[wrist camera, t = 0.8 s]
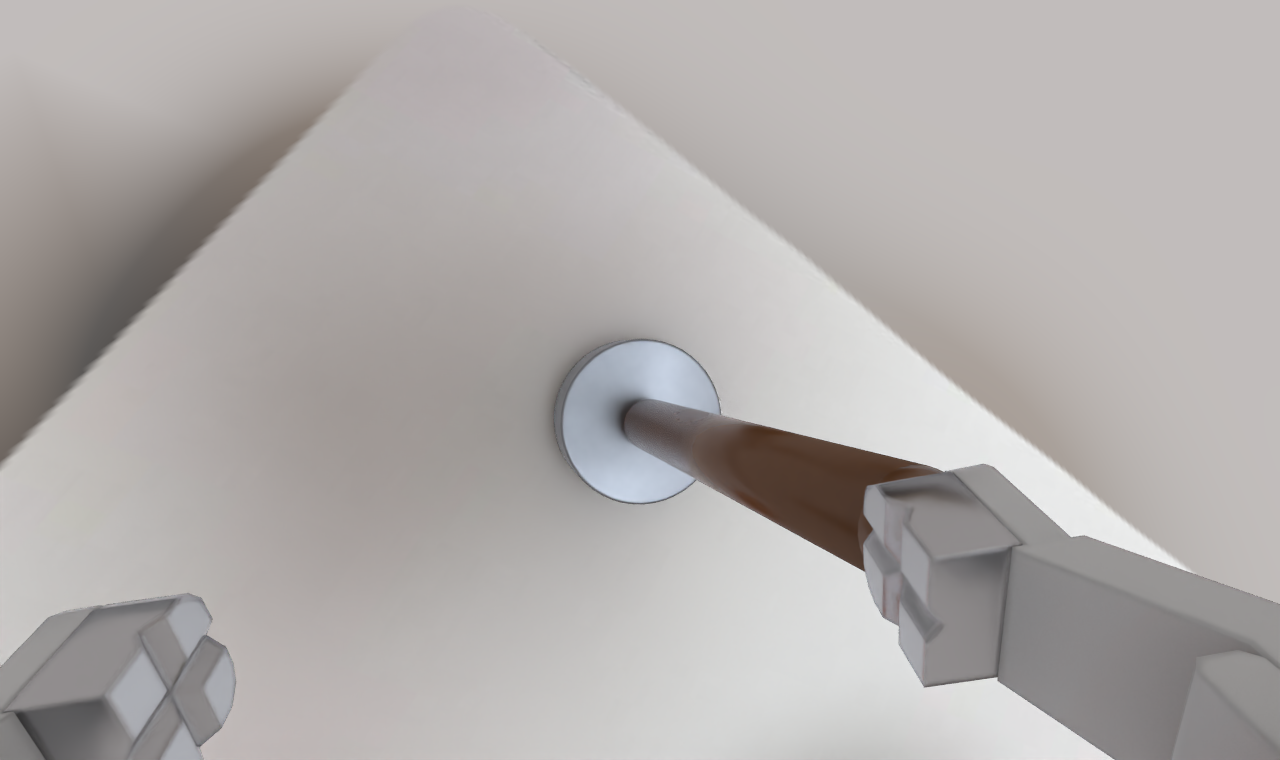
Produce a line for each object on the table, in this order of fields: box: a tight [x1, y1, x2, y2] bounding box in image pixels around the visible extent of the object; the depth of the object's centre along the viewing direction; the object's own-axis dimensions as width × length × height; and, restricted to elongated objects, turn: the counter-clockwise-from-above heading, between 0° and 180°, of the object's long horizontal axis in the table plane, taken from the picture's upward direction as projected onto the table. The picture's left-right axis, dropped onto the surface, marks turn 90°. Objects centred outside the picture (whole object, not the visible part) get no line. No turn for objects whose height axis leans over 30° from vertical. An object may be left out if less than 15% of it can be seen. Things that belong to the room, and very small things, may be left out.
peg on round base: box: [554, 339, 943, 571], centre depth 18 cm, size 6×6×19 cm
